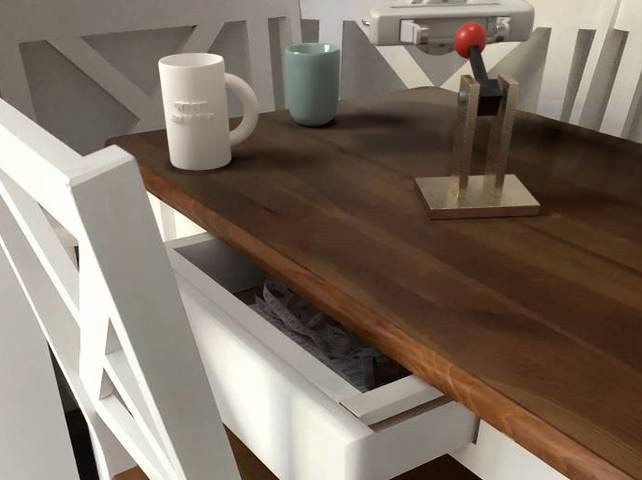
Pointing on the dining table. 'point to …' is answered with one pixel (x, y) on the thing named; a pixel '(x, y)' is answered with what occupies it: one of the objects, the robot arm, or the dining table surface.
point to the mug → (202, 110)
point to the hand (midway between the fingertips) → (462, 35)
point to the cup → (312, 82)
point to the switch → (478, 66)
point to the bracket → (494, 186)
